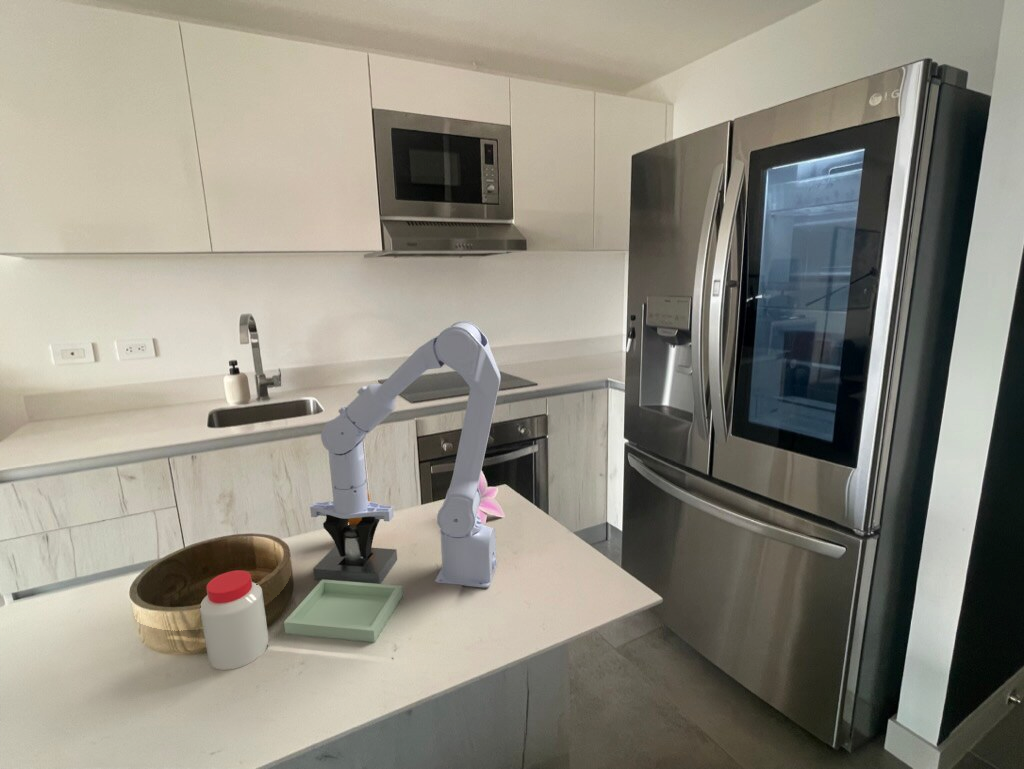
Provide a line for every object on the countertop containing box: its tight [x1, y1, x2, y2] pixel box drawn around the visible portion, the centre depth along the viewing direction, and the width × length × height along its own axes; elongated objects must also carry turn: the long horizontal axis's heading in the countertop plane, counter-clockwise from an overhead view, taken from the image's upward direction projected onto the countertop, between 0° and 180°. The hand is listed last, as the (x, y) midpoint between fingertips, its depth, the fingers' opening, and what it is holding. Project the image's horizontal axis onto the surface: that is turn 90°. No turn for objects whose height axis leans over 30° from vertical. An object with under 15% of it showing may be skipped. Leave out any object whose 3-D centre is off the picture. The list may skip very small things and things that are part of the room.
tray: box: [283, 579, 403, 644], centre depth 81 cm, size 14×11×2 cm
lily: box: [477, 470, 506, 525], centre depth 113 cm, size 12×12×10 cm
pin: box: [343, 523, 367, 567], centre depth 93 cm, size 4×4×8 cm
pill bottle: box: [199, 569, 270, 671], centre depth 74 cm, size 8×8×11 cm
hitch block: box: [312, 544, 398, 584], centre depth 93 cm, size 12×8×3 cm, turn 81°
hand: (355, 554), depth 93 cm, fingers closed on pin, 4 cm apart
